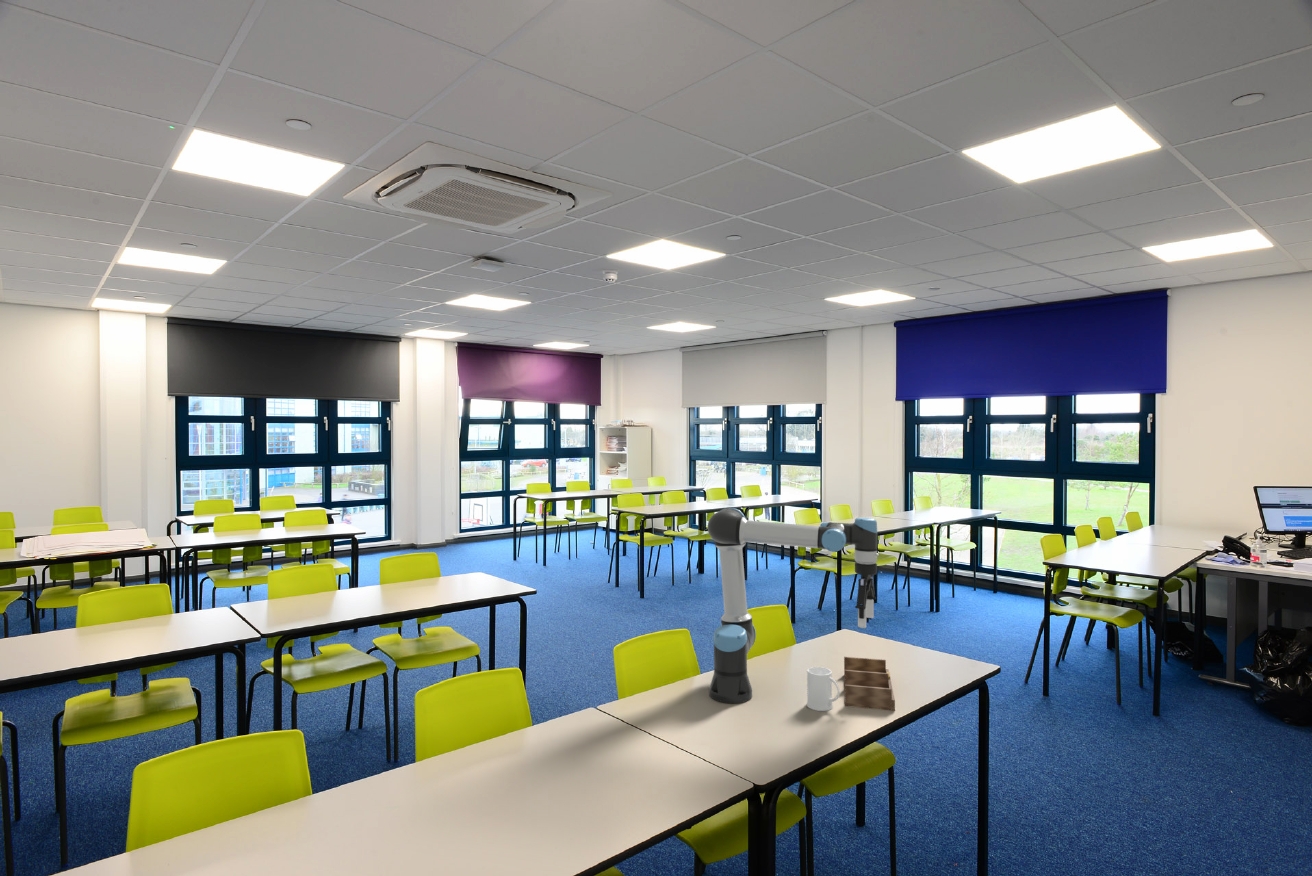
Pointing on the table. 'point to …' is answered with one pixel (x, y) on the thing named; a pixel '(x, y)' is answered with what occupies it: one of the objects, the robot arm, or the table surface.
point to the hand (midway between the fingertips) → (865, 622)
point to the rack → (868, 684)
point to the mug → (820, 689)
